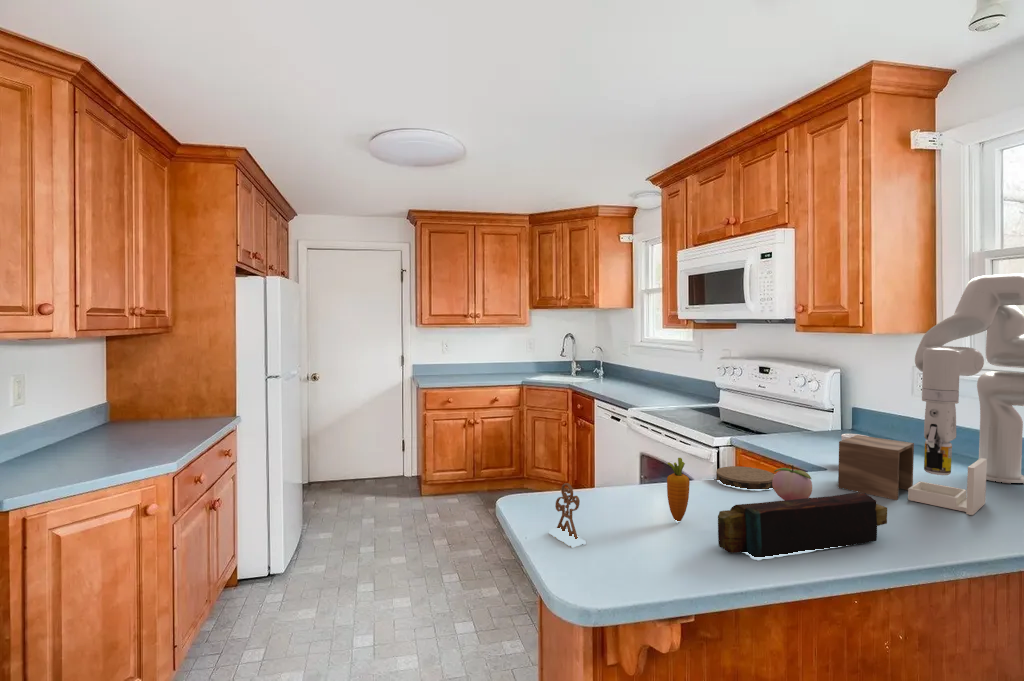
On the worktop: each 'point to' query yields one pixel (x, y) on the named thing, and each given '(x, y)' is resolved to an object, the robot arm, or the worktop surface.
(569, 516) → the gingerbread man figurine
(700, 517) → the worktop surface
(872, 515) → the packaged item
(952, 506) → the drawer
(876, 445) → the cabinet
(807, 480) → the decorative fruit
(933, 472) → the supplement bottle
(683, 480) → the carrot
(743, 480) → the brown round disc
